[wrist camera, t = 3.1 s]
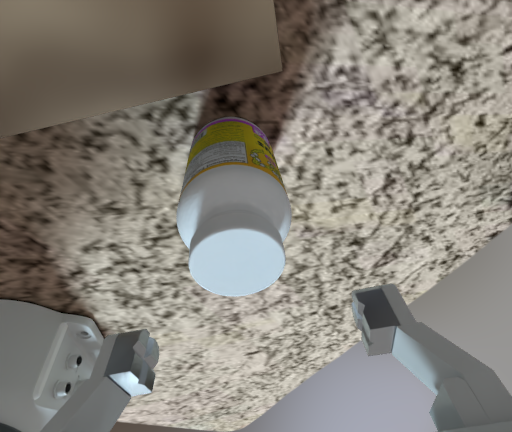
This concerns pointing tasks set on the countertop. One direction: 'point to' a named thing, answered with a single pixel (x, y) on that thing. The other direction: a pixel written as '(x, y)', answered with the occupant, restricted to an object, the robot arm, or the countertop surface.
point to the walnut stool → (124, 54)
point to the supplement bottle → (233, 209)
